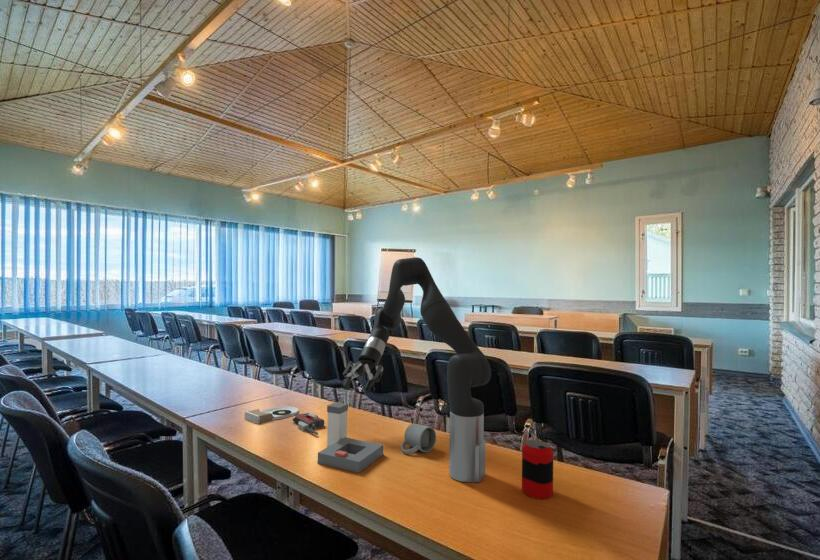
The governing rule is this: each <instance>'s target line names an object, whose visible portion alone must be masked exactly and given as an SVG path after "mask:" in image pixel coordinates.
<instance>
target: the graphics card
mask: <svg viewBox="0 0 820 560" xmlns="http://www.w3.org/2000/svg"><path fill="white" fill-rule="evenodd" d="M298 414H299V408H298V407H295V406H290V405H289V406H288V405H287V406H283V405H282V406H277V407H272V408H267V409H263V410H261V411H260V409H259V408H257V409H253V410H248V411H245V412H244V414H243V415H244V420H246V419H247V420H246V421H248V420H249V422H251V421H252V423H253V422H254V423H253V424H257V425H259V424H262V422H263V423H266V421H267V422H269V421H277V420H276V419H278V420H283V419H285V418H290V417H293V416H296V415H298ZM282 418H283V419H282Z"/></svg>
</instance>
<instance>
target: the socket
mask: <svg viewBox="0 0 820 560" xmlns="http://www.w3.org/2000/svg"><path fill="white" fill-rule="evenodd" d="M383 455H384V444H382V443H381V444H380V443H376V442H370V441H367V440H362V439H356V438H350V437H347V438H346V437H345V438H343V439H341V440H339V441H338V442H336V443H334V444H332V445H331V446H329V447H328V446H326V448H324V449H322V450H321V451H319V452H317V464H319V465H324V466H328V467H332V468H337V469H340V470H345V471H348V472H353V473H356V474H359V473H361V472H362V471H364V470H365V469H366V468H367V467H369V466H370V465H372V464H373V463H374V462H375V461H377V460H378V459H379V458H381V457H382V456H383Z"/></svg>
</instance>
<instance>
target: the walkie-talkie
mask: <svg viewBox="0 0 820 560" xmlns="http://www.w3.org/2000/svg"><path fill="white" fill-rule="evenodd" d="M292 421H293V422H294V424H296V425H297V426H298V427H297V428H298V430H300V431H301V432H309V433H311V434H314V435H316V436H318V435H319V433H318V432H317V431H315V430H316V429H319V428H320V429H321V428H324V427H325V419H324V418H321V417H319V415H318V414H315V413H310V412H304V413H297V414H296V415H294V417H293V418H292Z"/></svg>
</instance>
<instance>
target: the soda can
mask: <svg viewBox="0 0 820 560" xmlns="http://www.w3.org/2000/svg"><path fill="white" fill-rule="evenodd" d="M521 490H522V492H523V493H524V494H525V495H527V496H528V497H530V498H533V497H534V498H533V499H537V498H540V499H539V500H545V499H544V498H547V499H549V498H551V497H552V496H553V494H554V450H553V449H552V447H551V446H550V444H549V443H548V442H546V441H542V440H538V439H537V440H536V439H533V440H528V441H526V442H525V444H524V445H523V446H522V449H521Z"/></svg>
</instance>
